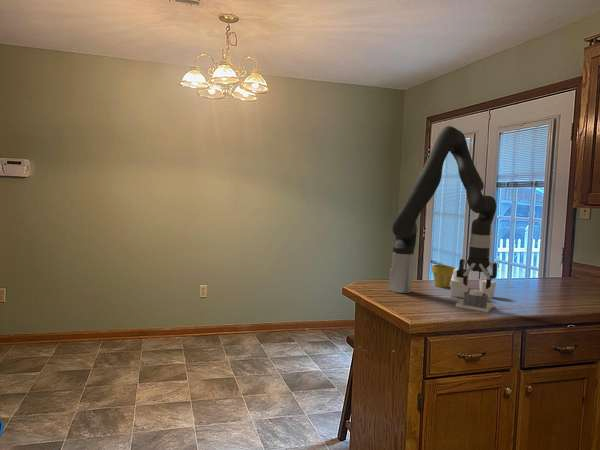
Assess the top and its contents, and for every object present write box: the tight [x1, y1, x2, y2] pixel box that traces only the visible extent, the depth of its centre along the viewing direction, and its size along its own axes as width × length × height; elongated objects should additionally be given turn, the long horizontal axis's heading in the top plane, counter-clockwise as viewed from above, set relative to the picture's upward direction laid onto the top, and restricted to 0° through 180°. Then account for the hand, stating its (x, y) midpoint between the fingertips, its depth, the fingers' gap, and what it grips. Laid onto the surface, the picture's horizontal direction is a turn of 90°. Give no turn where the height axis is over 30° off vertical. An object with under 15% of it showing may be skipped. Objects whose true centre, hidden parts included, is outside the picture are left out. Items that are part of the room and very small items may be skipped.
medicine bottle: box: [449, 267, 470, 299], centre depth 199 cm, size 7×7×12 cm
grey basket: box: [455, 290, 495, 313], centre depth 181 cm, size 12×12×5 cm
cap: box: [468, 289, 483, 296], centre depth 181 cm, size 5×5×5 cm
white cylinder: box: [478, 279, 497, 299], centre depth 201 cm, size 7×7×7 cm
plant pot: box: [431, 264, 455, 288], centre depth 220 cm, size 10×10×10 cm
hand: (476, 286), depth 180 cm, fingers open, 7 cm apart
